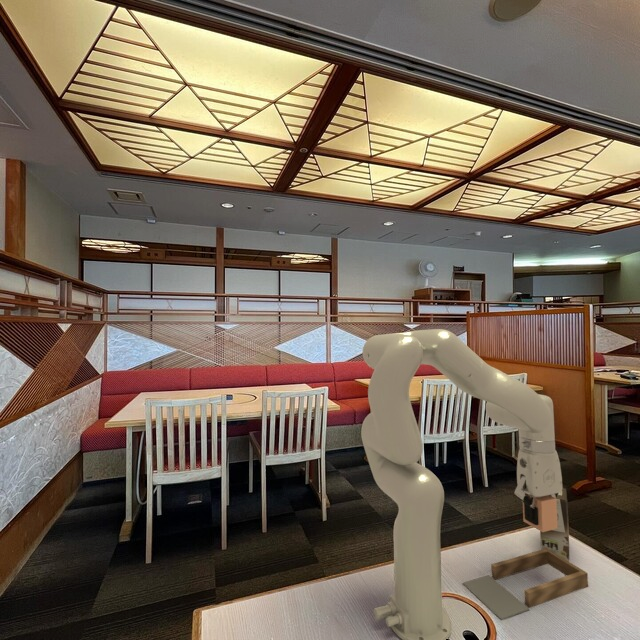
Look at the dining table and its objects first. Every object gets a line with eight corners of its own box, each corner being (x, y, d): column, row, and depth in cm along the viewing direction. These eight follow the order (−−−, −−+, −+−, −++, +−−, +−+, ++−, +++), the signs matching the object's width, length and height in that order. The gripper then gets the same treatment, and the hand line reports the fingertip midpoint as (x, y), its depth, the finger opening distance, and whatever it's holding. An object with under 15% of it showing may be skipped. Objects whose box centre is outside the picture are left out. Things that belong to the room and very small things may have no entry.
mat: (501, 620, 69) (501, 618, 69) (462, 583, 79) (462, 582, 79) (529, 610, 71) (529, 608, 71) (488, 576, 82) (488, 574, 82)
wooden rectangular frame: (529, 607, 72) (528, 593, 72) (491, 576, 81) (491, 564, 82) (588, 586, 78) (587, 573, 78) (547, 560, 88) (546, 548, 88)
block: (542, 532, 78) (541, 501, 78) (523, 521, 83) (522, 492, 83) (557, 528, 80) (556, 498, 80) (538, 517, 84) (536, 489, 85)
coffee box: (570, 564, 86) (566, 500, 87) (540, 554, 90) (537, 493, 91) (570, 546, 93) (567, 488, 94) (542, 538, 97) (540, 482, 98)
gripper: (525, 453, 76) (528, 535, 75) (576, 445, 82) (580, 521, 80) (498, 443, 83) (500, 518, 82) (546, 437, 89) (549, 507, 88)
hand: (540, 519), depth 81 cm, fingers closed on block, 5 cm apart
